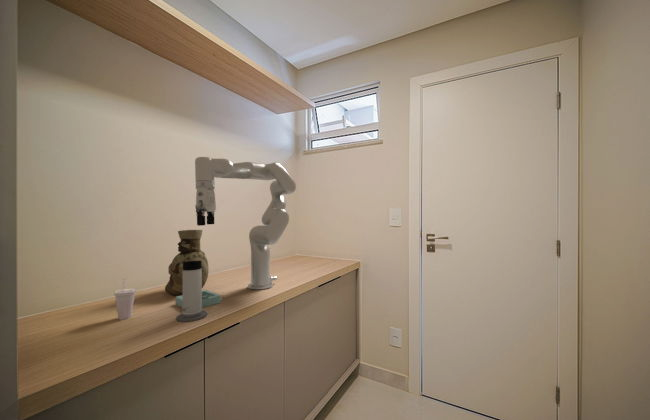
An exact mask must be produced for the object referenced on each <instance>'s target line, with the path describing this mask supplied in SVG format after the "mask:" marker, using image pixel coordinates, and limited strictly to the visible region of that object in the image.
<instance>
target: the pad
mask: <svg viewBox="0 0 650 420" xmlns="http://www.w3.org/2000/svg"><path fill="white" fill-rule="evenodd" d="M207 316H208V311H207V310H204V309H202V313H201V314H200V315H199V316H196V317H192V318H185V317H183V316H182V312H181V313H179V314H178V315H176V321H177V322H180V323H181V322H182V323H189V322H195V321H199V320H202V319H204V318H206V317H207Z"/></svg>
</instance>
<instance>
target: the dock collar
mask: <svg viewBox="0 0 650 420" xmlns="http://www.w3.org/2000/svg"><path fill="white" fill-rule="evenodd" d="M221 303H222V294H220V293H219V294H218V293H216V292H213V291H210V290H209V289H206V290H202V308H206V307H209V306H213V305H216V304H221ZM175 304H176V305H177V306H179V307H181V308H182V304H183V295H181V296H175Z"/></svg>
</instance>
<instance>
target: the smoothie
mask: <svg viewBox="0 0 650 420" xmlns="http://www.w3.org/2000/svg"><path fill="white" fill-rule="evenodd" d="M125 279H126V278H122V289H119V290H116V291H115V292H114V294H113V296H115V305H116V311H117V318H118V320H121V321H122V320H128V319H130V318H132V315H133V309H134V303H135V297H136V296H135V295H136V293H137V289H136V288H125V287H126V285H125V284H126V283H125V282H126V281H125Z"/></svg>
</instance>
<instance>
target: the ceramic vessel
mask: <svg viewBox="0 0 650 420" xmlns="http://www.w3.org/2000/svg"><path fill="white" fill-rule="evenodd" d="M177 234H178V237H179V239H180V241H179V242H178V243H177V246H178V247H177V250H178V252H179V253H178V254H176V255H175V256H174V258H173V259H172V261H171V263H170V264H169V265H168V271H167V273H168V274H169V275H170V276H169V280H168V282H167V283H166V285H165V286H164V291H165V292H166V293H167V294H168V295H169V294H170V295H172V296H175V297H177V296H182V295H183V262H189V261H202V265H201V266H202V269H201V270H202V289H203V288H204V286H205V284H206V283H207V281H208V278H209V270H210V268H209V262H208V261H209V260H208V258H207V257H206V254H205V252H204V251H203V250H201V238H202V235H203V229H184V230H178V231H177Z"/></svg>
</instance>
